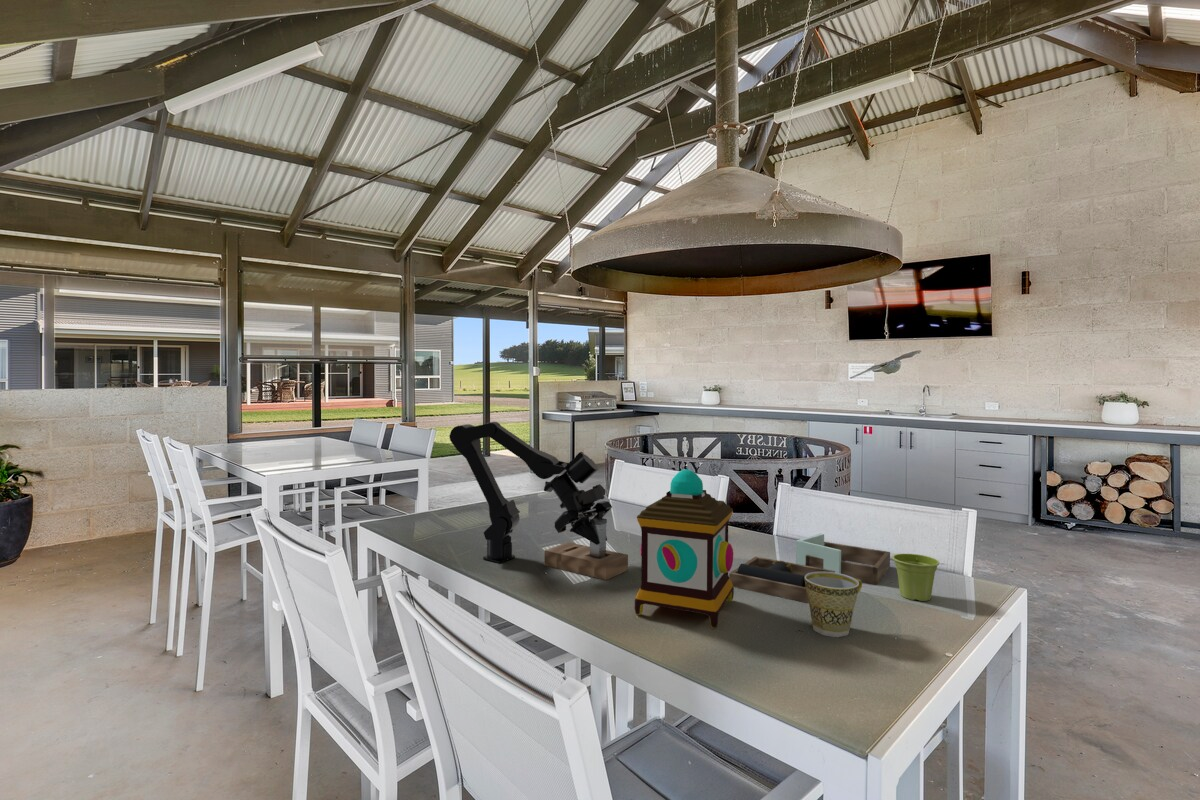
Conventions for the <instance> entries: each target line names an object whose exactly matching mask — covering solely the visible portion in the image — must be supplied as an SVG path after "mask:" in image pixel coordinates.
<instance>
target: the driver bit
mask: <svg viewBox="0 0 1200 800" xmlns="http://www.w3.org/2000/svg"><path fill="white" fill-rule="evenodd" d="M607 522H608V519H607V518H604V517H603V518H598V517H596V518H593V519H590V526H591V527H592V529H593V531H594V532H595V534H596V535H597V537H598V539H599V541H600V543H599V544H598V545H596V544H594V543H593V542H591V541H589V547H590V557H593V558H597V559H602V558H604V557H606V550H607V541H606V537H607V524H608V523H607Z"/></svg>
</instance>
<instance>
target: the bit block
mask: <svg viewBox="0 0 1200 800" xmlns="http://www.w3.org/2000/svg"><path fill="white" fill-rule="evenodd" d="M544 566H546V567H550V568H554V569H559V570H562V571H566V572H570V573H574V574H579V575H583V576H587V577H591V578H594V577H595V579H599V580H602V579H603V581H607V580H610V579H611V578H614V577H616V576H619V575H620V574H623V573H625V572H627V571H629V554H627V553H624V552H623V553H622V552H618V551H612V550H608V549H606V557H604V558H602V559H597V558H593V557H590V545H589V546H588V545H583V544H579V543H574V542H570V541H569V542H568V541H567V542H565V543H562V544H559V545H556V546H554V547H550V548H547V549H545V550H544Z"/></svg>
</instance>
